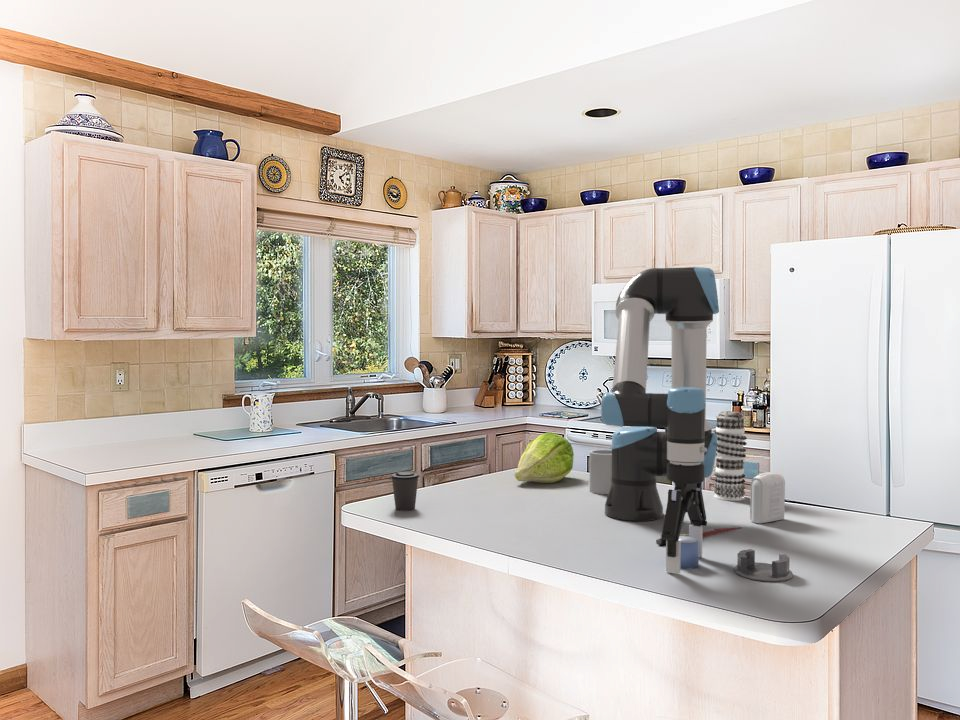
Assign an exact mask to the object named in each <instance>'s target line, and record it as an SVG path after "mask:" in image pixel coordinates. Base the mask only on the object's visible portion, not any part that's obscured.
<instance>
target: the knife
mask: <svg viewBox="0 0 960 720" xmlns="http://www.w3.org/2000/svg"><path fill="white" fill-rule="evenodd" d="M741 529H743V527H741V526H738V527H725V528H723V527H722V528H713V530H712V529H711V530H708V531H707V530H706V531H702V538H705V537H709V536H714V535H719V534H724V533H727V532H732V531H735V530H741ZM680 536H688V537H689V533H684V532H683V533H680ZM655 544H656V545H658V546H659V545H660V546H661V545H666V540H664V539H662V538H658V539H656V541H655Z"/></svg>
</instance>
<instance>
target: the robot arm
mask: <svg viewBox="0 0 960 720" xmlns="http://www.w3.org/2000/svg"><path fill="white" fill-rule="evenodd" d="M716 281H717V280H716V277H715V272H714V270H713V269H712V268H710V267H703V266H702V267H701V266H700V267H699V266H689V267H688V266H687V267H662V268H661V267H653V268H647V269H645V270H644V269H643V270H642V271H640V272H638V273H636V274H635V275H634V276H633V277H632V278H630V279H629V281H627V283H625V285H623V288H622V289H621V291H620V293H619V294H618V296H617V300H616V303H615V316H616V318H617V320H618V324H617V334H616V347H615V355H614V356H615V357H614V369H613V379H612V391H610V392H608V391H606V392H604V393H602V395H601V402H600V403H601V404H600V415H601V422H602V423H603V424H604V425H606V426H613V427H621V428H619V429H617V430H615V431H613V433H612V437H611V445H610V450H612V484H611V488H610V491H609V494H608V495H607V498H606V500H605V504H604V515H606V516H607V517H610V518H613V519H616V520H617V519H618V520H622V521H632V522H633V521H634V522H635V521H639V522H641V521H643V522H646V521H654V520H655V521H656V520H659V519H661V518H662V517H664V520H663V526H662V532H661V538H662V539H664V540H666V544H665V545H666V546H665V572H667V573H674V574H681V568H680V558H681V540H679V536H680V534H681V531H682V529H683V524H684V520H685V517H686V514H687V516H688V519H689V522H690V524H688V534H689V537H693V538H695V539H696V540H698V541H699V558H702V557H703V537H702V532H704V531H703V526H704V527H707V525H708V521H707V514H706V508H705V502H704V497H703V490H702V487H703V485H702V483H703V482H704V481H705V479H707V478H709V477H711V475H712V474H713V471H714V467H715V461H716V458H715V456H716V452H717V451H716V446H717V434H715V433H714V432H712V431H713V429H712V428H713V427H712V425H711V424H710V423H709V422H708V421H707V419H706V417H707V416H706V415H707V414H706V413H707V412H706V411H707V410H706V409H707V408H706V407H707V405H706V404H707V403H706V402H707V401H706V400H707V336H708V335H707V328H708V326H710V325H711V324H712V323H713V322H714V315H717V314H719V313H720V307H719V298H718V297H719V295H718V289H717V283H716ZM656 314H657V315H665V322H666V323H667V324H668V325H669V326H670V328H671V370H670V371H671V374H670V375H671V387H670V388H669V390H668V392H667V393H658V392H657V393H654V392H653V393H652V392H646V391H647V379H648V377H647V375H648V358H649V343H650V342H649V341H650V340H649V339H650V325H651V323H650V322H652V320H653V319H654V317H655V315H656ZM657 428H663V429H664V431H658V429H657ZM657 477H666V479H667V481H669V482H672V483H674V489H668V491H667V504H666V510H665V515H664V507H663V504H662V503H663V502H662V500H661V497H660V494H659V491H658V487H657ZM663 515H664V516H663ZM661 538H660V539H661Z"/></svg>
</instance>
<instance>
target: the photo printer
mask: <svg viewBox="0 0 960 720" xmlns="http://www.w3.org/2000/svg"><path fill="white" fill-rule="evenodd" d="M785 492H786V481H785V478H784V476H783V475H782V474H780V473H778V472H771V471H766V472H762V473H760V474H756V476H754V477H753V478H752V480H751V482H750V502H749V503H750V506H749V514H750V515H749V519H750V521H751V522H752V523H755V524H763V523H764V524H765V523H770V522H775V521H780V520H784V519H785V499H786V497H785V495H786V493H785Z"/></svg>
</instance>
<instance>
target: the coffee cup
mask: <svg viewBox="0 0 960 720" xmlns="http://www.w3.org/2000/svg"><path fill="white" fill-rule="evenodd" d="M389 477H390V478H391V481H392V483H391V484H392V489H393V497H394V498H393V499H394V506H395V507H394V508H395V510H396V511H403V512H404V511H413V510H415V509H416V501H417V492H418V481H419V478H420V477H421V475H420V474H419V473H418V472H414V471H408V470H406V471H403V470H402V471H398V472H394V473H392V474H391V475H390V476H389Z"/></svg>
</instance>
